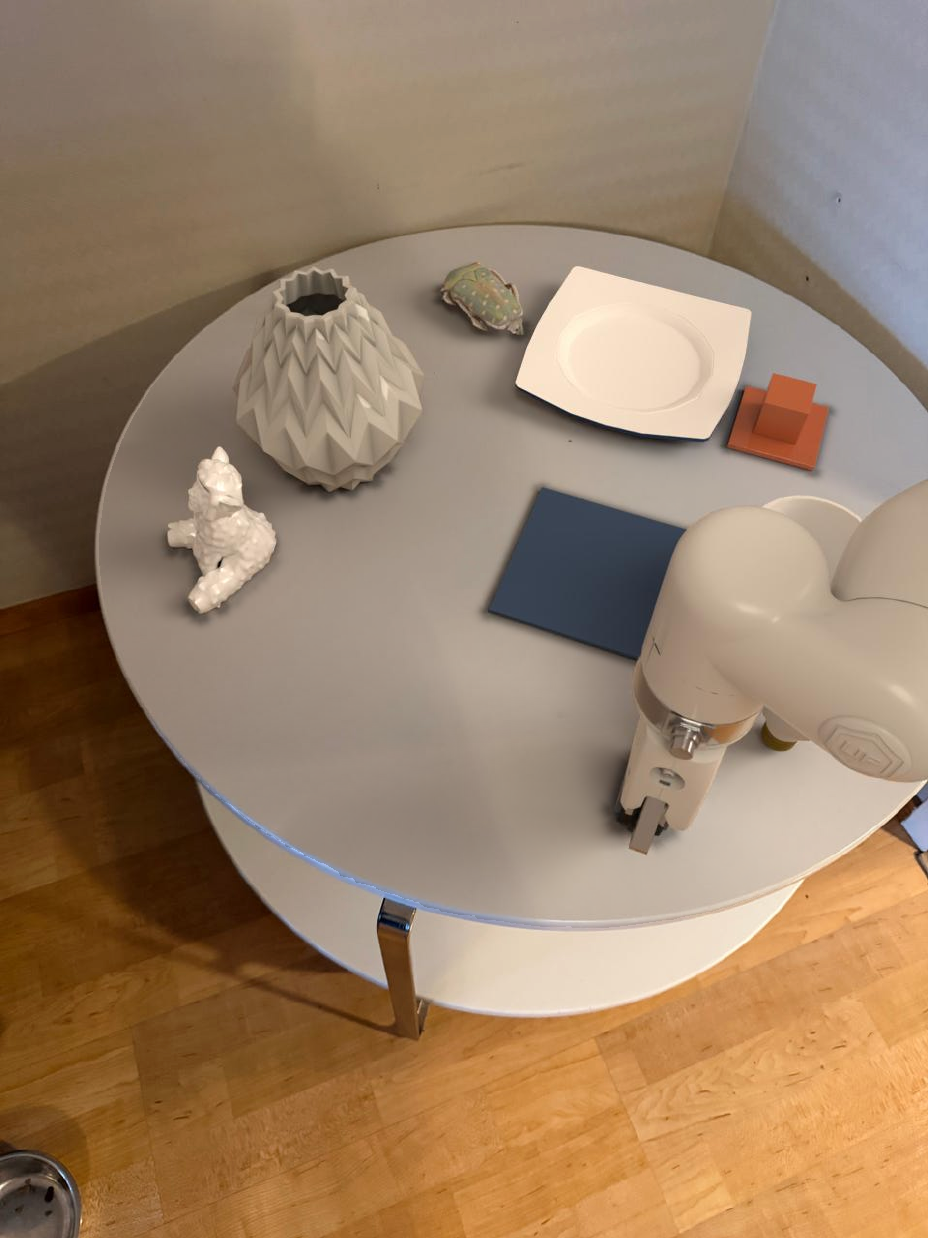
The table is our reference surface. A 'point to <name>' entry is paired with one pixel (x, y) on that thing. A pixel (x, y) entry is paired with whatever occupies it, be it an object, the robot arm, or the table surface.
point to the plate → (636, 357)
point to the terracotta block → (785, 408)
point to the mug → (821, 523)
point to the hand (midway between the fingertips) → (647, 795)
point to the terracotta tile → (774, 449)
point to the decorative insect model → (484, 297)
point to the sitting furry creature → (221, 533)
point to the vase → (327, 383)
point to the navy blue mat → (587, 572)
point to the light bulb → (779, 732)
